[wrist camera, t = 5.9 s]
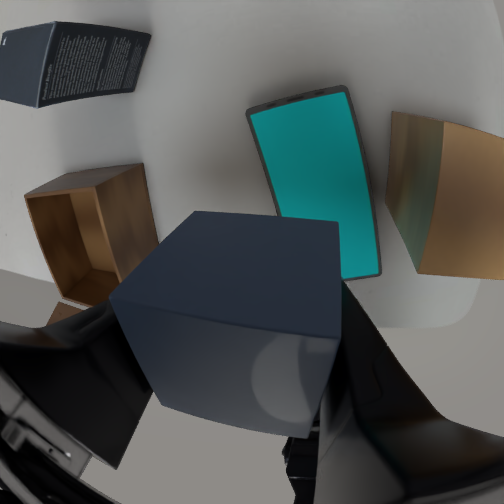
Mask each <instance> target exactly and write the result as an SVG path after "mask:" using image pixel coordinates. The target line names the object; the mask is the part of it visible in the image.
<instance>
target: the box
mask: <svg viewBox="0 0 504 504" xmlns="http://www.w3.org/2000/svg"><path fill="white" fill-rule="evenodd" d="M150 37H151V35H150V34H148V33H143V32H138V31H132V30H127V29H121V28H115V27H109V26H102V25H94V24H85V23H73V22H57V21H53V22H49V23H45V24H39V25H34V26H29V27H24V28H19V29H14V30H8V31H5V32H4V33H3V35H2V40H1V45H0V99H1V100H6V101H10V102H14V103H18V104H22V105H26V106H30V107H33V108H36V109H37V108H41V107H45V106H49V105H53V104H58V103H62V102H66V101H72V100H77V99H83V98H89V97H95V96H103V95H111V94H119V93H129V92H133V90H134V88H135V84H136V81H137V77H138V74H139V70H140V67H141V64H142V61H143V58H144V55H145V52H146V49H147V46H148V43H149V40H150Z"/></svg>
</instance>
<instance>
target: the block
mask: <svg viewBox="0 0 504 504" xmlns="http://www.w3.org/2000/svg"><path fill="white" fill-rule="evenodd" d="M109 300H110V302H111V305H112V307H113V309H114V312H115V314H116V317H117V319H118V321H119V323H120V326H121V328H122V330H123V332H124V335H125V337H126V339H127V341H128V343H129V345H130V347H131V349H132V351H133V353H134V355H135V357H136V359H137V361H138V363H139V365H140V367H141V369H142V371H143V373H144V375H145V377H146V378H147V380H148V382H149V384H150V386H151V387H152V389H153V391H154V393H155V394H156V396H157V398H158V399H159V401H160V403H161V405H163V406H165V407H168V408H171V409H174V410H177V411H181V412H184V413H187V414H190V415H193V416H197V417H200V418H204V419H207V420H211V421H215V422H218V423H222V424H226V425H231V426H235V427H239V428H244V429H249V430H254V431H259V432H265V433H270V434H276V435H282V436H289V437H296V438H305V439H307V438H308V436H309V433H310V431H311V428H312V425H313V423H314V420H315V417H316V415H317V412H318V409H319V406H320V404H321V401H322V398H323V395H324V392H325V389H326V386H327V383H328V380H329V377H330V374H331V370H332V367H333V364H334V361H335V357H336V354H337V350H338V347H339V343H340V340H341V257H340V236H339V223H338V222H337V221H327V220H316V219H305V218H294V217H282V216H269V215H255V214H240V213H224V212H207V211H194V212H193V213H192V214H191V215H190V216H189V217H188V218H187V219H185V220H184V221H183V222H182V223H181V224H180V225H179V226H178V227H177V228H176V229H175V230H174V231H173V232H172V233H170V234H169V235H168V236H167V237H166V238H165V239H164V240H163V241H162V242H161V243H160V244H159V245H158V246H157V247H156V248H155V249H154V250H153V251H152V252H151V253H150V254H149V255H148V256H147V257H146V258H145V259H144V260H143V261H142V262H141V263H140V264H139V265H138V266H137V267H136V268H135V269H134V270H133V271H132V272H131V273H130V274H129V275H128V276H127V277H126V278H125V279H124V280H123V281H122V282H121V283H120V284H119V285H118V286H117V287H116V288H115V289H114V290H113V292H112V293H111V294H110V295H109Z"/></svg>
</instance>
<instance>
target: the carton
mask: <svg viewBox="0 0 504 504" xmlns="http://www.w3.org/2000/svg"><path fill="white" fill-rule="evenodd" d="M24 198H25V201H26V205H27V208H28V212H29V215H30V218H31V222H32V225H33V228H34V231H35V234H36V236H37V239H38V242H39V245H40V247H41V250H42V253H43V255H44V258H45V260H46V263H47V265H48V268H49V270H50V272H51V275H52V277H53V279H54V282H55V284H56V286H57V288H58V290H59V292H60V294H61V297H62V298H63V299H65V300H68V301H71V302H74V303H77V304H80V305H84V306H87V307H93V306H95V305H97V304H99V303H101V302H103V301H105V300H108V299H109V295H110V294H111V293H112V292H113V290H114V289H115V288H116V287H117V286H118V285H119V284H120V283H121V282H122V281H123V280H124V279H125V278H126V277H127V276H128V275H129V274H130V273H131V272H132V271H133V270H134V269H135V268H136V267H137V266H138V265H139V264H140V263H141V262H142V261H143V260H144V259H145V258H146V257H147V256H148V255H149V254H150V253H151V252H152V251H153V250H154V249H155V248H156V247H157V246H158V245H159V243H158V239H157V234H156V230H155V225H154V220H153V216H152V211H151V205H150V200H149V195H148V189H147V184H146V178H145V172H144V166H143V163H139V164H130V165H121V166H113V167H105V168H98V169H92V170H85V171H79V172H73V173H67V174H64V175H62V176H60V177H58V178H56V179H54V180H52V181H50V182H48V183H46V184H44V185H42V186H40V187H38V188H36V189H34V190H32V191H30V192H28V193H27V194H25V195H24Z"/></svg>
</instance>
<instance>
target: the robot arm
mask: <svg viewBox="0 0 504 504" xmlns="http://www.w3.org/2000/svg"><path fill="white" fill-rule="evenodd" d="M152 393H153V389H152V387H151V386H150V384H149V382H148V380H147V378H146V377H145V375H144V373H143V371H142V369H141V367H140V365H139V363H138V361H137V359H136V357H135V355H134V353H133V351H132V349H131V347H130V345H129V343H128V341H127V339H126V337H125V335H124V332H123V330H122V328H121V326H120V323H119V321H118V319H117V317H116V314H115V312H114V309H113V307H112V305H111V302H110V300H109V299H108V300H105V301H103V302H101V303H99V304H97V305H95V306H93V307H90V308H88V309H86V310H84V311H81V312H79V313H77V314H74V315H72V316H70V317H67V318H65V319H62V320H60V321H57V322H55V323H53V324H50V325H48V326H45V327H41V328H29V327H24V326H19V325H15V324H10V323H6V322H1V321H0V487H1V488H2V489H3V490H0V504H121V503H119V502H117V501H115V500H114V499H112V498H110V497H108V496H107V495H105V494H103V493H102V492H100V491H98V490H97V489H95V488H93V487H92V486H91V485H89V484H87V483H86V482H84V481H83V480H81V479H80V477H81V475H82V473H83V472H84V470H85V468H86V466H87V465H88V463H89V461H90V459H91V458H92V456H93V457H95V458H96V459H98V460H99V461H101V462H103V463H104V464H106V465H108V466H110V467H111V468H113V469H115V470H117V468H118V466H119V464H120V462H121V460H122V458H123V455H124V453H125V451H126V449H127V446H128V444H129V442H130V440H131V438H132V436H133V434H134V432H135V429H136V427H137V425H138V423H139V420H140V418H141V416H142V414H143V412H144V410H145V408H146V406H147V404H148V402H149V399H150V397H151V395H152ZM282 455H283V456H284V459H285V465H286V466H287V467H286V473H287V476H288V478H289V481H290V483H291V485H292V487H293V490H294V492H295V495H296V496H295V500H294V504H504V437H500V436H497V435H494V434H490V433H487V432H483V431H480V430H477V429H474V428H471V427H467V426H464V425H461V424H458V423H455V422H453V421H450V420H448V419H446V418H445V417H444V416H442V415H441V414H440V413H439V412H438V411H437V410H436V409H435V408H434V406H433V405H432V404H431V403H430V401H429V400H428V399H427V397H426V396H425V395H424V394H423V392H422V391H421V390H420V389H419V387H418V386H417V385H416V384H415V382H414V381H413V380H412V379H411V378H410V376H409V375H408V374H407V372H406V371H405V370H404V368H403V367H402V366H401V364H400V363H399V362H398V360H397V358H396V357H395V355H394V354H393V352H392V351H391V349H390V348H389V346H387V343H386V342H385V340H384V339H383V337H382V336H381V334H380V333H379V331H378V330H377V328H376V327H375V325H374V324H373V322H372V321H371V319H370V318H369V316H368V315H367V314H366V312H365V311H364V309H363V308H362V306H361V305H360V303H359V302H358V301H357V299H356V298H355V296H354V295H353V293H352V292H351V291H350V289H349V288H348V286H347V285H346V284H345V282H344V281H343V280H342V279H341V340H340V343H339V347H338V350H337V354H336V357H335V361H334V364H333V367H332V370H331V374H330V377H329V380H328V383H327V386H326V389H325V392H324V395H323V398H322V401H321V404H320V406H319V409H318V412H317V415H316V417H315V420H314V423H313V425H312V428H311V431H310V433H309V436H308V438H307V439H305V438H296V437H288V440H287V443H286V445H285V446H284V448H283V450H282Z"/></svg>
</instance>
